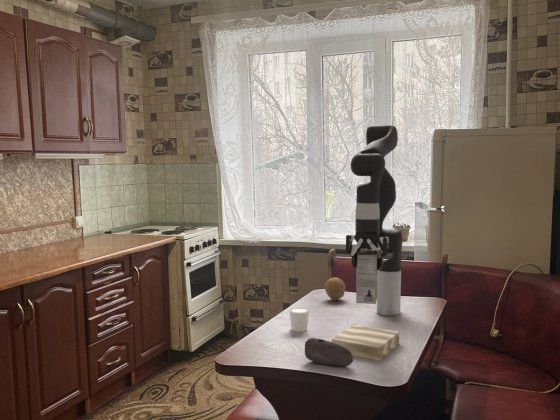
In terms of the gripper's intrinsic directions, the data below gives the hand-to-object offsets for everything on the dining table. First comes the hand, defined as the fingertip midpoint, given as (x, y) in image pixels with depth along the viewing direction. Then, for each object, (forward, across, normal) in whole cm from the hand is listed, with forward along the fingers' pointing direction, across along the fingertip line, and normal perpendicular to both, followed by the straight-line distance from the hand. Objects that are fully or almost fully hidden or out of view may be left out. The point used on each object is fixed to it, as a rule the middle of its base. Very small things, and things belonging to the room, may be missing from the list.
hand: (367, 268), depth 177 cm
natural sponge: (+26, +35, -51) cm, 67 cm away
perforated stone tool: (+26, +4, +20) cm, 33 cm away
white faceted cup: (+26, +28, -6) cm, 39 cm away
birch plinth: (+26, 0, 0) cm, 26 cm away
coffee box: (+11, 0, 0) cm, 11 cm away
